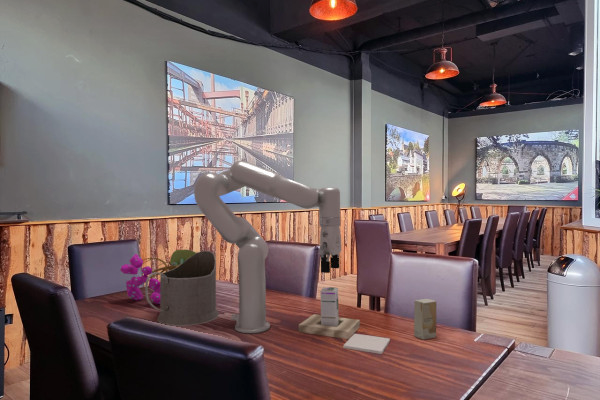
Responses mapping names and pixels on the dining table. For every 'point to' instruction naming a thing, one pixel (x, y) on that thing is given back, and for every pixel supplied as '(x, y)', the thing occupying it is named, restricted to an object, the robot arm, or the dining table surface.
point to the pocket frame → (330, 327)
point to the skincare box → (425, 319)
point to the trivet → (367, 343)
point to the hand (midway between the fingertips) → (330, 270)
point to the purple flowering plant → (154, 284)
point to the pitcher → (188, 292)
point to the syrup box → (329, 306)
